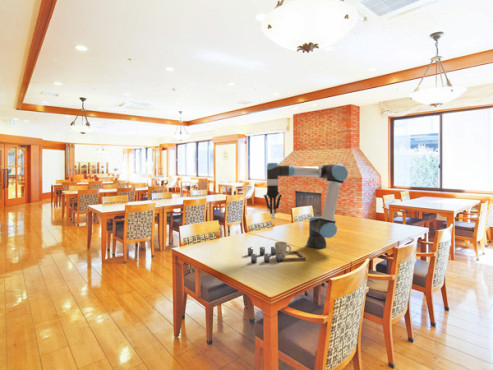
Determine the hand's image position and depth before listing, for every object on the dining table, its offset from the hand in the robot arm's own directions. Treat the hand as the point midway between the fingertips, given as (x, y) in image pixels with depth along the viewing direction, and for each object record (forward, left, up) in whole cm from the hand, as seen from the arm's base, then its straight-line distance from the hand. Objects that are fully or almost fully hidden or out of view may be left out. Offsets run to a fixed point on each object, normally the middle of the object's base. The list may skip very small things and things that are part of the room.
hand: (272, 218), depth 193 cm
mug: (-6, +7, -26) cm, 27 cm away
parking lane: (-10, +8, -26) cm, 29 cm away
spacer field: (+7, +8, -26) cm, 28 cm away
